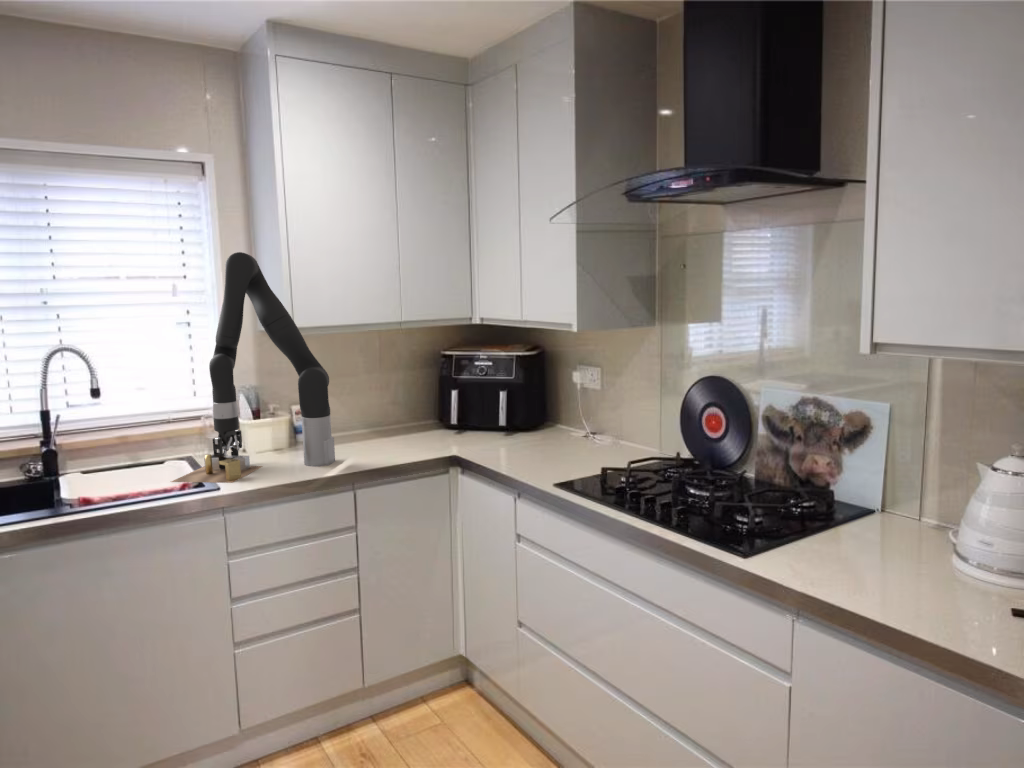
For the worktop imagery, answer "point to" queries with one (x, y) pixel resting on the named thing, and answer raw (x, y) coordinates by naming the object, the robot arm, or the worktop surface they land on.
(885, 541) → the worktop surface
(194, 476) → the board
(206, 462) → the cylinder
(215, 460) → the link
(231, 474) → the block
